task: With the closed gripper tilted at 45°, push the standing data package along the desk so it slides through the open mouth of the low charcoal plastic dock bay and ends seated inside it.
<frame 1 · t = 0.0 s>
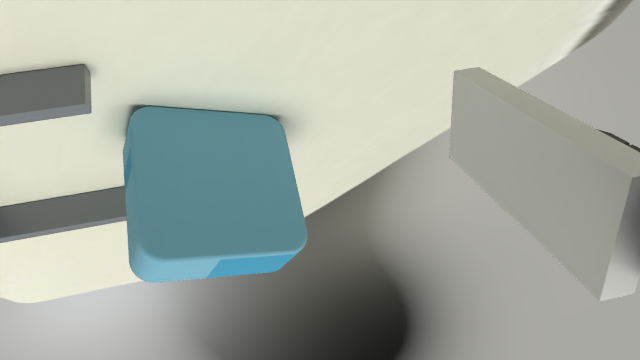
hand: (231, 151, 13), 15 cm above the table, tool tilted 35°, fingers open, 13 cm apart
data package: (203, 123, 39), on the table
dock bay: (33, 152, 37), on the table
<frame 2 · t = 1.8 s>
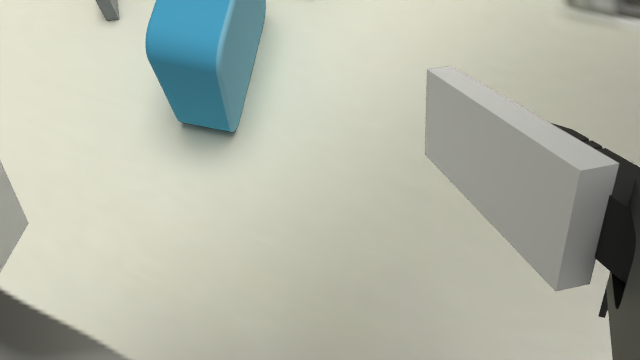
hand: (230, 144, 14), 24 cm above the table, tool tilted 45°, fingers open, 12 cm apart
data package: (225, 69, 41), on the table
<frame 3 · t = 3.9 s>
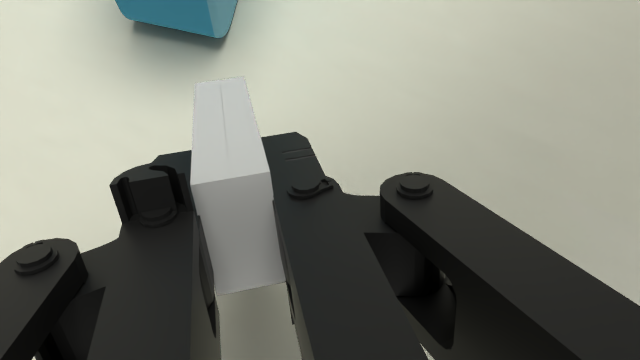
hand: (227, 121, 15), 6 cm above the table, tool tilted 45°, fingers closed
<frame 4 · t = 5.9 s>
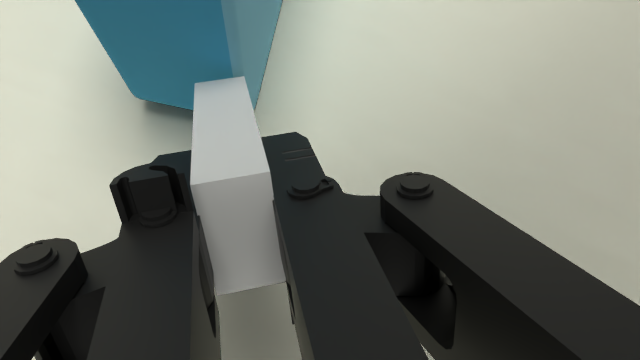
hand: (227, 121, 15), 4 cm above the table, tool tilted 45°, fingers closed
data package: (230, 4, 22), on the table, touching gripper
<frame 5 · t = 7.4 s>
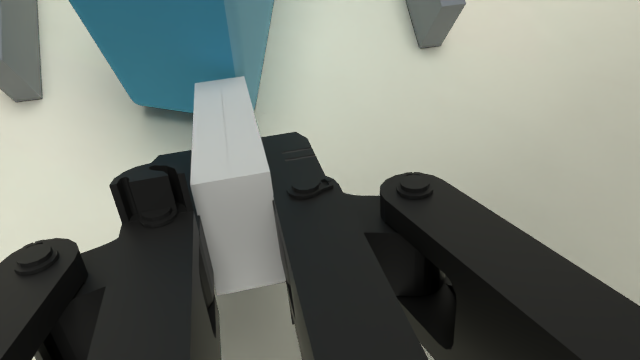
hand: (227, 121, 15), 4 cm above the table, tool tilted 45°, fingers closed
data package: (222, 5, 22), on the table, touching gripper
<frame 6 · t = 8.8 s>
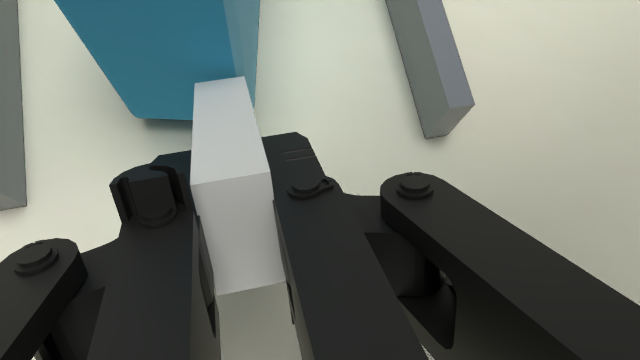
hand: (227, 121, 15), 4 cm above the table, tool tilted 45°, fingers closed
data package: (209, 10, 22), on the table, touching gripper
dock bay: (212, 21, 21), on the table
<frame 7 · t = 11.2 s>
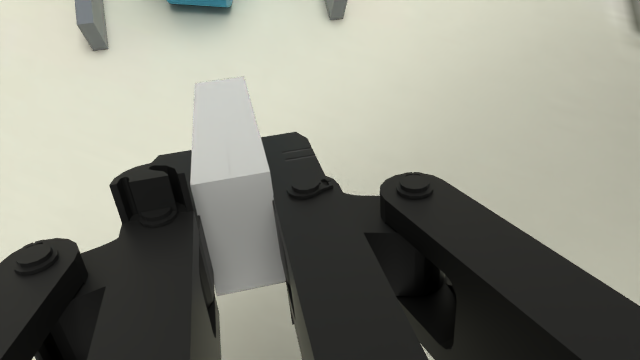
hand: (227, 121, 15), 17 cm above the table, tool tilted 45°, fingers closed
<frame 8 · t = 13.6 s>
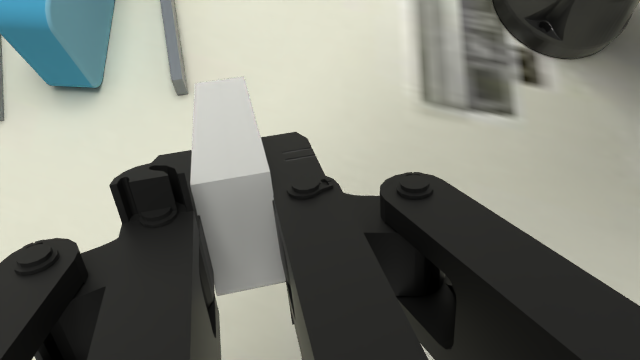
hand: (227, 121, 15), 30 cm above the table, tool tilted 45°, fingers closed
data package: (87, 40, 49), on the table
dock bay: (87, 44, 48), on the table
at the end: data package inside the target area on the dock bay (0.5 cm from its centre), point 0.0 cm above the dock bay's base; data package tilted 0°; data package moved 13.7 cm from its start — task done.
